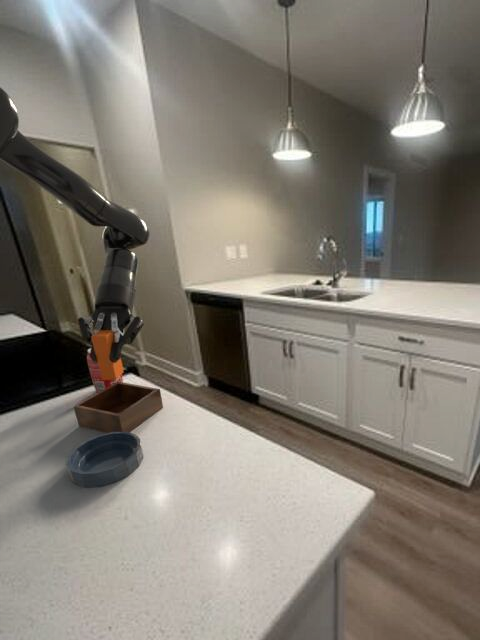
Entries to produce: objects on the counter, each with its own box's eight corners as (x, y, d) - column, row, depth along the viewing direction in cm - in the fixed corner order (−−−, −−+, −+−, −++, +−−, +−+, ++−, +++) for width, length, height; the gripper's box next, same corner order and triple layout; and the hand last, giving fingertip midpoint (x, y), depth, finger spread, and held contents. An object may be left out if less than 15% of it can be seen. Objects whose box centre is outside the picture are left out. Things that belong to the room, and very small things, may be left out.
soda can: (126, 382, 97) (117, 342, 93) (122, 393, 91) (113, 351, 86) (98, 386, 95) (87, 345, 91) (93, 398, 89) (81, 355, 84)
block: (110, 372, 78) (100, 330, 74) (124, 371, 78) (114, 329, 74) (102, 380, 74) (90, 336, 70) (116, 379, 74) (105, 336, 70)
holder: (79, 427, 77) (72, 406, 75) (122, 400, 88) (117, 381, 86) (124, 438, 73) (118, 416, 71) (163, 409, 84) (159, 388, 82)
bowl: (55, 480, 62) (49, 464, 60) (109, 440, 72) (105, 427, 71) (108, 496, 58) (103, 480, 57) (157, 452, 69) (154, 438, 67)
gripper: (75, 282, 75) (59, 355, 69) (141, 281, 76) (131, 353, 69) (93, 300, 82) (80, 368, 76) (153, 299, 83) (145, 366, 76)
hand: (104, 361), depth 72 cm, fingers closed on block, 3 cm apart
